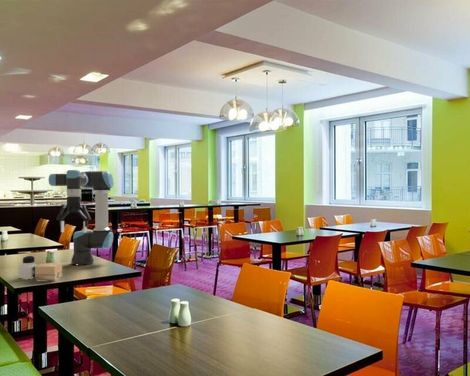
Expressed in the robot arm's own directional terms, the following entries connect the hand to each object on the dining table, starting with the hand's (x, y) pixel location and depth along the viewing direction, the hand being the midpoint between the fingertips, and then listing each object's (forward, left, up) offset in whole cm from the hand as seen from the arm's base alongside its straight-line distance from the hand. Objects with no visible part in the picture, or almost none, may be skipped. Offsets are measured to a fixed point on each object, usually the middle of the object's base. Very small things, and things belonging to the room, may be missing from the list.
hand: (73, 232), depth 260 cm
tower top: (0, -15, -24) cm, 28 cm away
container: (-3, -28, -28) cm, 40 cm away
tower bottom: (0, -15, -28) cm, 32 cm away
